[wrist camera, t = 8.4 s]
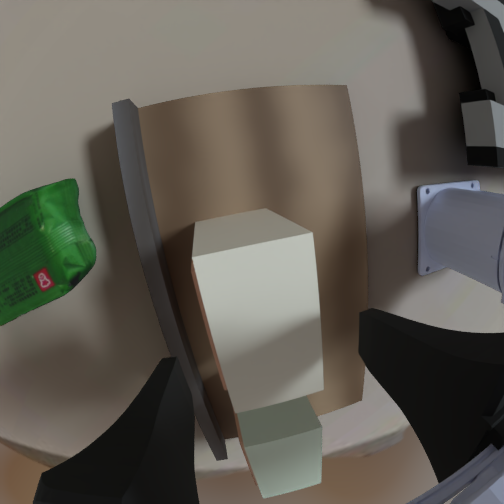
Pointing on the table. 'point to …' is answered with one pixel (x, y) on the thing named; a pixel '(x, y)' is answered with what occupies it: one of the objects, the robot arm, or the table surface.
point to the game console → (480, 74)
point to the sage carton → (282, 446)
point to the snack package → (42, 248)
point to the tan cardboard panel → (243, 200)
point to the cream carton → (260, 306)
